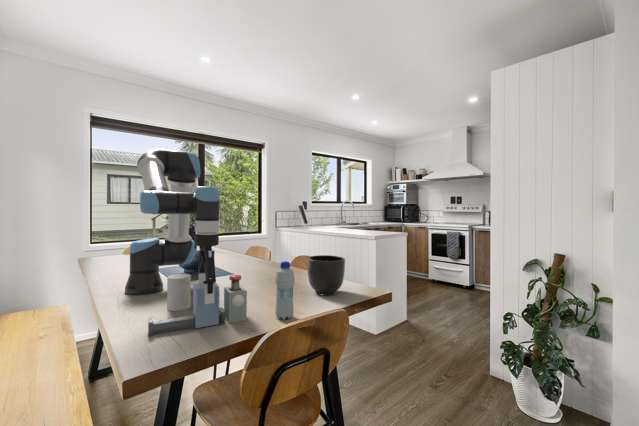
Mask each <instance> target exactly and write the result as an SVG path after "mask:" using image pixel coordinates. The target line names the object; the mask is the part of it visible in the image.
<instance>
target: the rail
mask: <svg viewBox="0 0 639 426" xmlns="http://www.w3.org/2000/svg"><path fill="white" fill-rule="evenodd" d="M147 321H148V322H147V323H148V325H147V326H148V327H147V329H148V333H147V335H148V337H151V336H154V335H156V334H157V335H158V334H163V333H164V334H165V333H169V332H176V331H181V330H187V329H194V328H195V315H193V314H192V315H186V316H178V317H172V318H165V319H158V320H154V317H153V316H150V317H148V320H147ZM219 324H221V325H224V324H225V325H226V317H225V310H224V307H223V306H221V307H219Z"/></svg>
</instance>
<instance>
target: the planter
mask: <svg viewBox="0 0 639 426" xmlns="http://www.w3.org/2000/svg"><path fill="white" fill-rule="evenodd" d="M345 269H346V258H345V257H343V256H338V255H327V254H326V255H324V254H321V255H313V256H312V255H311V256H309V257H307V278H308V282H309V285H310V287H311V289H313V290H314V292H315V293H316V294H317V293H318V294H317V295H319V294H323V295H322V296H330V295H329V294H333V295H335V294H336V293H337V291H338V290H339V289H340V288H341V287H342V286H343V282H344V278H345V271H346V270H345ZM334 293H335V294H334Z"/></svg>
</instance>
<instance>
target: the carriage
mask: <svg viewBox="0 0 639 426" xmlns="http://www.w3.org/2000/svg"><path fill="white" fill-rule="evenodd" d="M192 305H193V307H192V308H193V314H192V315H195V327H194V328H195V329H198V328H205V327H212V326H217V325H219V324H220V323H219V308H220V286H219V284H217V281H216V282H215V283H214V303H210V304H205V284H203V283H201V284H199V283H193V286H192Z"/></svg>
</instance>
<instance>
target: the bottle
mask: <svg viewBox="0 0 639 426" xmlns="http://www.w3.org/2000/svg"><path fill="white" fill-rule="evenodd" d="M279 266H280V268H279V269H277V270H276V276H275V285H276V293H275V294H276V297H275V299H276V302H275V316H276V318H277V319H278V320H283V321H284V320H285V321H286V318H287V320H290V319H291V318H292V317H293V316H294V285H295V273H294V272H295V271H294V270H293V269H291V262H289V261H287V260H286V261H285V260H283V261H281V262H280V265H279Z"/></svg>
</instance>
